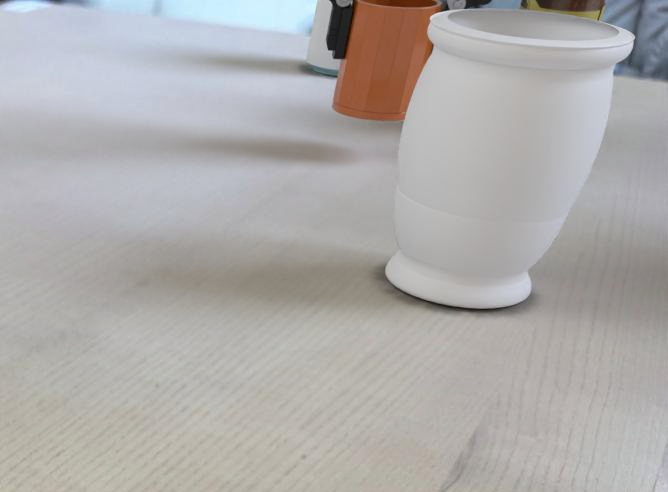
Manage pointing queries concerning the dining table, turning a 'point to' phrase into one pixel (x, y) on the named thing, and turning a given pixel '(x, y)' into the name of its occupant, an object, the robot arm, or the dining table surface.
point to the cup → (383, 57)
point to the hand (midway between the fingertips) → (385, 59)
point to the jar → (497, 149)
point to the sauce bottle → (567, 7)
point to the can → (321, 41)
